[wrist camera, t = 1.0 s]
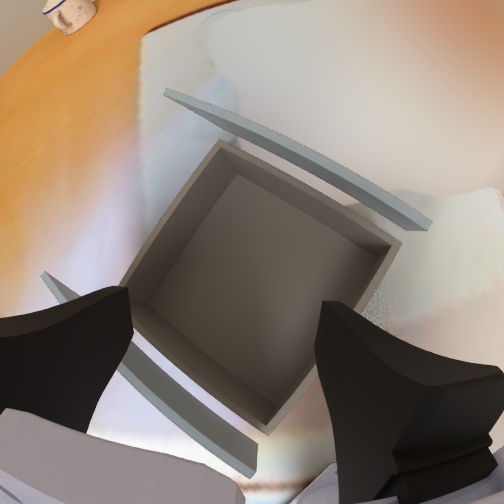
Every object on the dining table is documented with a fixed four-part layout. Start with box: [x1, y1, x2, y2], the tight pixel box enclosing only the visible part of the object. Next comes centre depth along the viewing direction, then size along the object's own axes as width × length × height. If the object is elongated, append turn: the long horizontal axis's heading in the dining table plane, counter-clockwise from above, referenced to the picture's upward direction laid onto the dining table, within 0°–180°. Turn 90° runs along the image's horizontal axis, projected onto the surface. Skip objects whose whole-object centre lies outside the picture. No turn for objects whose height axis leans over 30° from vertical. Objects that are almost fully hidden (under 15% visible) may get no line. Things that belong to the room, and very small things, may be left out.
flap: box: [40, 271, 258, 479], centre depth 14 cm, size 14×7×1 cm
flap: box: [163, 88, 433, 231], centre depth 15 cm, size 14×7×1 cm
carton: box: [118, 139, 402, 436], centre depth 21 cm, size 14×14×5 cm
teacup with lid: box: [43, 0, 97, 35], centre depth 36 cm, size 12×9×12 cm
